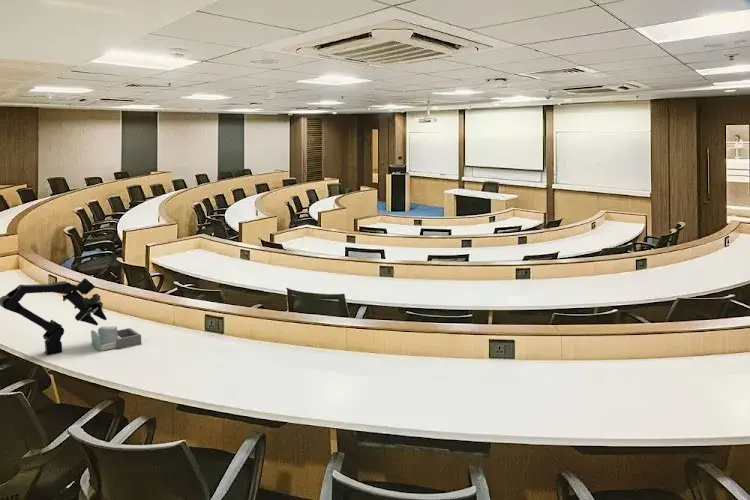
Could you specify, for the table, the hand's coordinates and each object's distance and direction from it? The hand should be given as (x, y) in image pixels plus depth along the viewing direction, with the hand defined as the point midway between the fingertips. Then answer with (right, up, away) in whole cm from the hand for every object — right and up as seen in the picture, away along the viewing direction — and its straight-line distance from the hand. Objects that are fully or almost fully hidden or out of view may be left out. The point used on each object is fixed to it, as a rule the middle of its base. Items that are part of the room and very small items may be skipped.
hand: (101, 322), depth 283 cm
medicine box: (+2, -11, +2) cm, 12 cm away
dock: (+8, -12, +8) cm, 16 cm away
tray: (+2, -12, +2) cm, 13 cm away
